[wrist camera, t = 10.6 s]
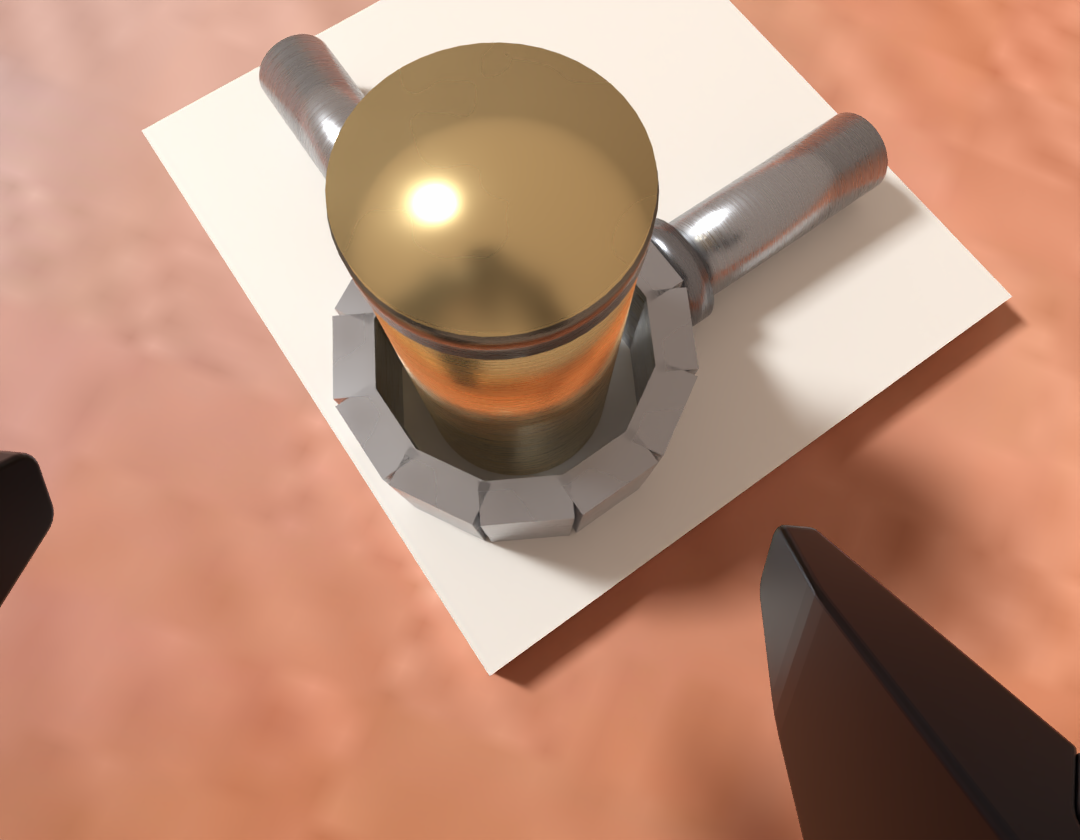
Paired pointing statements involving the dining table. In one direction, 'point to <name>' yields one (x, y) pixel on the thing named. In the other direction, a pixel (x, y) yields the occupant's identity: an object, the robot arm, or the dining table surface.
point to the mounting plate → (720, 339)
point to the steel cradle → (650, 330)
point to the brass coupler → (498, 240)
